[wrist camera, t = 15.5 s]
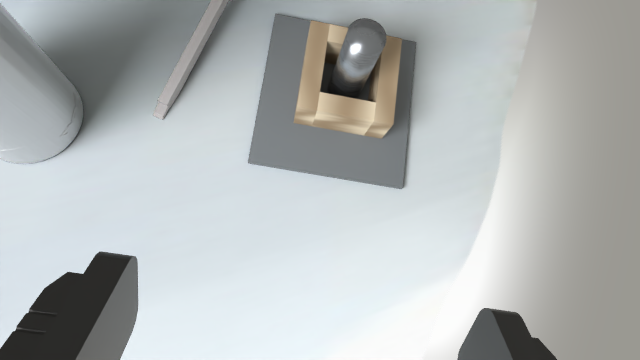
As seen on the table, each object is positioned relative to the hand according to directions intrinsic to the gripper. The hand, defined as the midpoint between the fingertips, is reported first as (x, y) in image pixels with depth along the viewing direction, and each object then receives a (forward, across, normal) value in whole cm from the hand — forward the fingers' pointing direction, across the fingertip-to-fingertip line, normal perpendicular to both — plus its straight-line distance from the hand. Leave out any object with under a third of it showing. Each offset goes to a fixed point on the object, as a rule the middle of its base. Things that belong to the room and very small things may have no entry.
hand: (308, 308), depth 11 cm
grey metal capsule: (+36, -4, +7) cm, 37 cm away
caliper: (+39, +10, +5) cm, 41 cm away
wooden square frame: (+36, -4, +7) cm, 37 cm away
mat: (+36, -4, +8) cm, 37 cm away
